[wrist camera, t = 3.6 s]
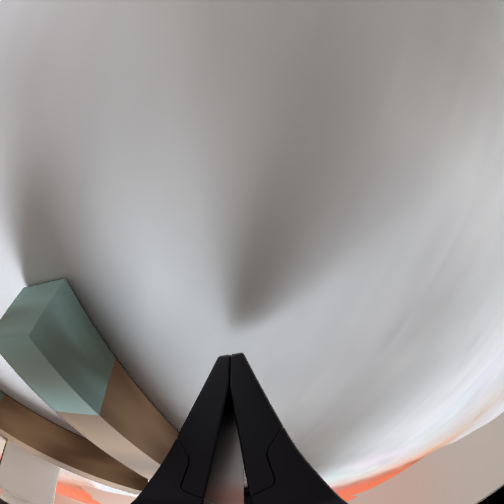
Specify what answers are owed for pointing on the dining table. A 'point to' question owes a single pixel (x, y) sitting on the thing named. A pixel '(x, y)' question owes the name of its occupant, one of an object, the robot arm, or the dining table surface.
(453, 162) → the dining table surface
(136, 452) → the tong leg
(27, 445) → the base
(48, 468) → the medicine bottle
